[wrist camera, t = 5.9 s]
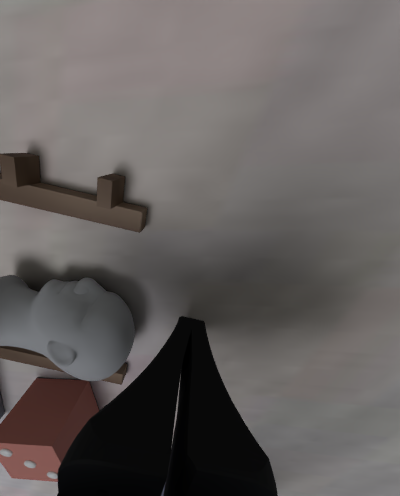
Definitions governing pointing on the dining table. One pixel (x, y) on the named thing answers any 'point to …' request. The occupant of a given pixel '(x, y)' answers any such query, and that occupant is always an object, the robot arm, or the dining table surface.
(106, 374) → the smooth white sculpture
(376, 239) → the dining table surface
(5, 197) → the brown wooden frame
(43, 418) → the die
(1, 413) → the grey square tray
